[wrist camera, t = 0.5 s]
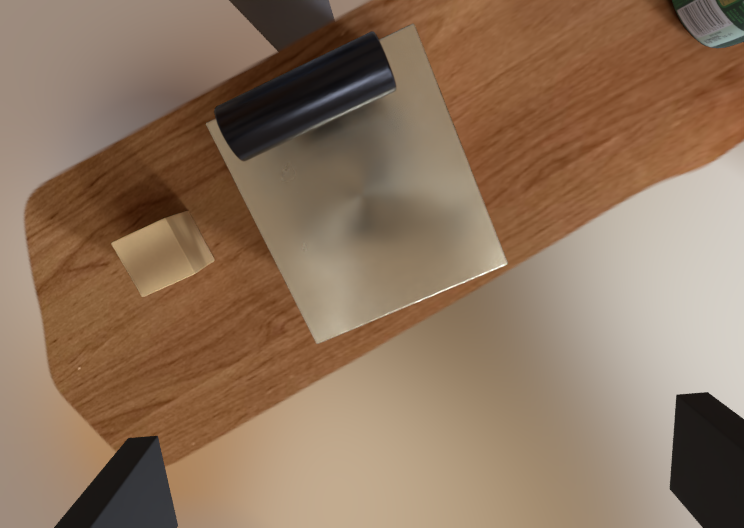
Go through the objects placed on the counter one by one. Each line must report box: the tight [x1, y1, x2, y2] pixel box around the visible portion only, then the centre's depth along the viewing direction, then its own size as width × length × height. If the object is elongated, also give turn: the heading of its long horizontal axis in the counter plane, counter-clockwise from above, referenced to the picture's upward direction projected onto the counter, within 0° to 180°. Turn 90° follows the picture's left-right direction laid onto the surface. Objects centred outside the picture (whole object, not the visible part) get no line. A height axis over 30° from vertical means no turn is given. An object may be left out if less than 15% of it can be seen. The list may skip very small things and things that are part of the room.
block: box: [111, 211, 214, 297], centre depth 37 cm, size 4×4×4 cm
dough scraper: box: [206, 24, 508, 344], centre depth 24 cm, size 14×13×9 cm
